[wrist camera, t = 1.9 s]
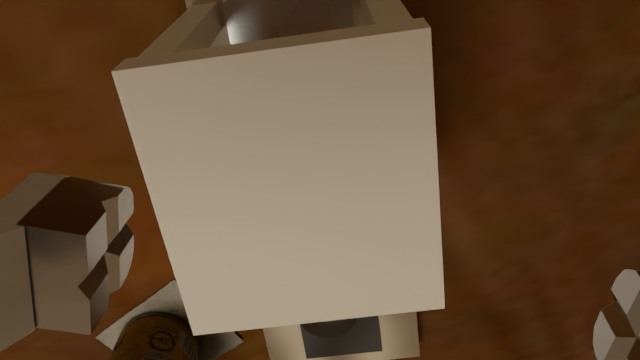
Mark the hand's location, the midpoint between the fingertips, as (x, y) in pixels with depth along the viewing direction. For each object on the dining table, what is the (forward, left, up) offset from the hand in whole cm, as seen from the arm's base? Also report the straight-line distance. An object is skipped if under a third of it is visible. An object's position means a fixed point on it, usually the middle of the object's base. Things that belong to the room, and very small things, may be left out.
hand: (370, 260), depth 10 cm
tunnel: (-2, -5, -24) cm, 25 cm away
